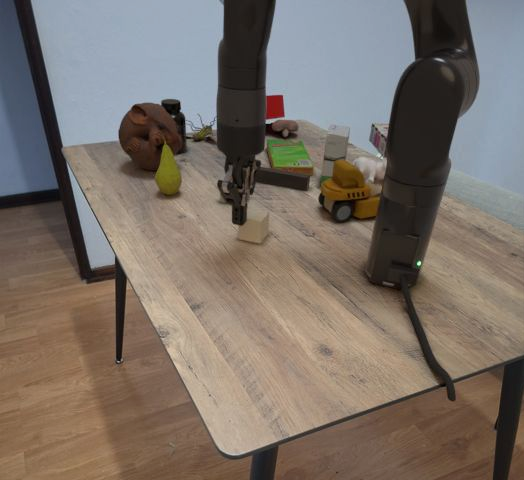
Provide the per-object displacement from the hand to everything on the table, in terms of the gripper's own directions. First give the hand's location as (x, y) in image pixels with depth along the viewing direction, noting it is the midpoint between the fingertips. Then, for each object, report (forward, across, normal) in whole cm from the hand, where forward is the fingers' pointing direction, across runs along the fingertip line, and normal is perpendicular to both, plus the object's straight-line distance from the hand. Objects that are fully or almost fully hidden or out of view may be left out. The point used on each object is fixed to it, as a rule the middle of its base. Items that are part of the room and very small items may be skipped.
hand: (239, 223), depth 84 cm
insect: (+1, +56, +36) cm, 67 cm away
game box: (+6, +49, +8) cm, 50 cm away
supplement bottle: (+6, +42, +38) cm, 57 cm away
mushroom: (+6, +69, +16) cm, 71 cm away
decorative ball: (+6, +28, +35) cm, 46 cm away
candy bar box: (+3, +65, -20) cm, 68 cm away
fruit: (+6, +17, +24) cm, 30 cm away
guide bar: (+6, +33, +6) cm, 34 cm away
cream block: (+6, +6, 0) cm, 8 cm away
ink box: (+6, +40, -6) cm, 41 cm away
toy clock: (-1, +70, +19) cm, 73 cm away
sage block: (+6, +20, +10) cm, 23 cm away
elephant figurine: (+6, +45, -15) cm, 48 cm away
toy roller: (+6, +26, -15) cm, 30 cm away
